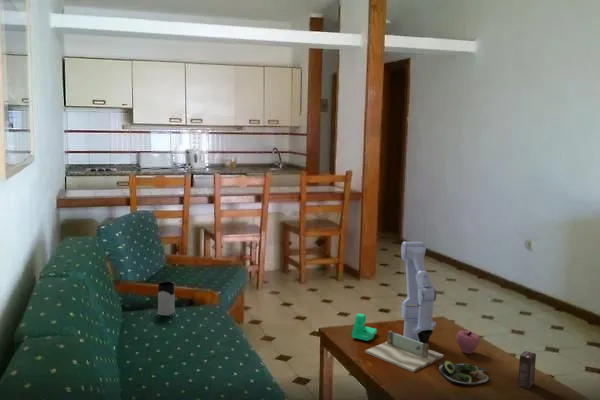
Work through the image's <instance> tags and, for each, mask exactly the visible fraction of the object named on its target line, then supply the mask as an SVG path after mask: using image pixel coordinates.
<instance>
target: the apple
mask: <svg viewBox="0 0 600 400" xmlns="http://www.w3.org/2000/svg"><path fill="white" fill-rule="evenodd" d="M456 342H457V345H458V347H459V348H460V351H461V352H462V353H465V354H469V355H471V354H473V353H474V351H475V350H476V349H477V348H478V346H479V344H480V337H479V336H478V335H477V333H475V332H472V331H470V330H460V331H458V332H457V334H456Z"/></svg>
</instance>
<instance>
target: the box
mask: <svg viewBox="0 0 600 400" xmlns="http://www.w3.org/2000/svg"><path fill="white" fill-rule="evenodd" d="M536 355H537V353H535V352H531V351H527V350H524V351H523V352H522V353H521V354H520V355H519V364H518V365H519V367H518V368H519V369H518V383H517V386H518V387H521V386H522V388H525V389H531V387H533V385H534V384H535V374H536V359H537V358H536V357H537V356H536Z"/></svg>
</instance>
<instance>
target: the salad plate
mask: <svg viewBox="0 0 600 400" xmlns="http://www.w3.org/2000/svg"><path fill="white" fill-rule="evenodd" d="M438 364H439V367H438V371H439V373H440V375H441V376H442V377H443V378H444V379H445V380H446V381H447V382H449V383H451V384H453V385H456V386H461V387H463V386H464V387H465V386H466V387H467V386H469V387H470V386H475V385H480V384H484V383H486V382H488V381H489V379H490V378H489V376H488V375H486V374H485V373H484V372H486V371H488V369H487V368H485V367H480V366H479V367H478V366H477V365H473V364H471V363H463V362H462V363H453V362H451V361H450V360H444V361H443V362H439V363H438ZM473 378H477V379H479V380H478V381H477V382H472V379H473Z"/></svg>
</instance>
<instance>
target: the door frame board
mask: <svg viewBox="0 0 600 400" xmlns="http://www.w3.org/2000/svg"><path fill="white" fill-rule="evenodd" d="M393 332H394V331H392V330H388V331H387V339H386V340H387V341H385V342H382V343H380V344H378V345H375V346H373V347H370V348H368V349H365V351H364V353H365V354H367V355H370V356H373V357H375V358H377V359H380V360H382V361H385V362H387V363H389V364H392V365H394V366H397V367H399V368H402V369H405V370H407V371H410V372H411V373H414V372H416V371H418V370H420V369H422V368H424V367H427V366H429V365H430V364H432V363H434V362H436V361H439V360H441V359H443V358H444V357H445V356H444V354H442V353H440V352H437V351H434V350H431V349H429V348H430V347H429V346H430V345H429V343H427V344H426V343H425V344H424V346H423V355H419V354H416V353H414V352H411V351H408V350H406V349H403V348H400V347H398V346H395V345H392V333H393Z"/></svg>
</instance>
